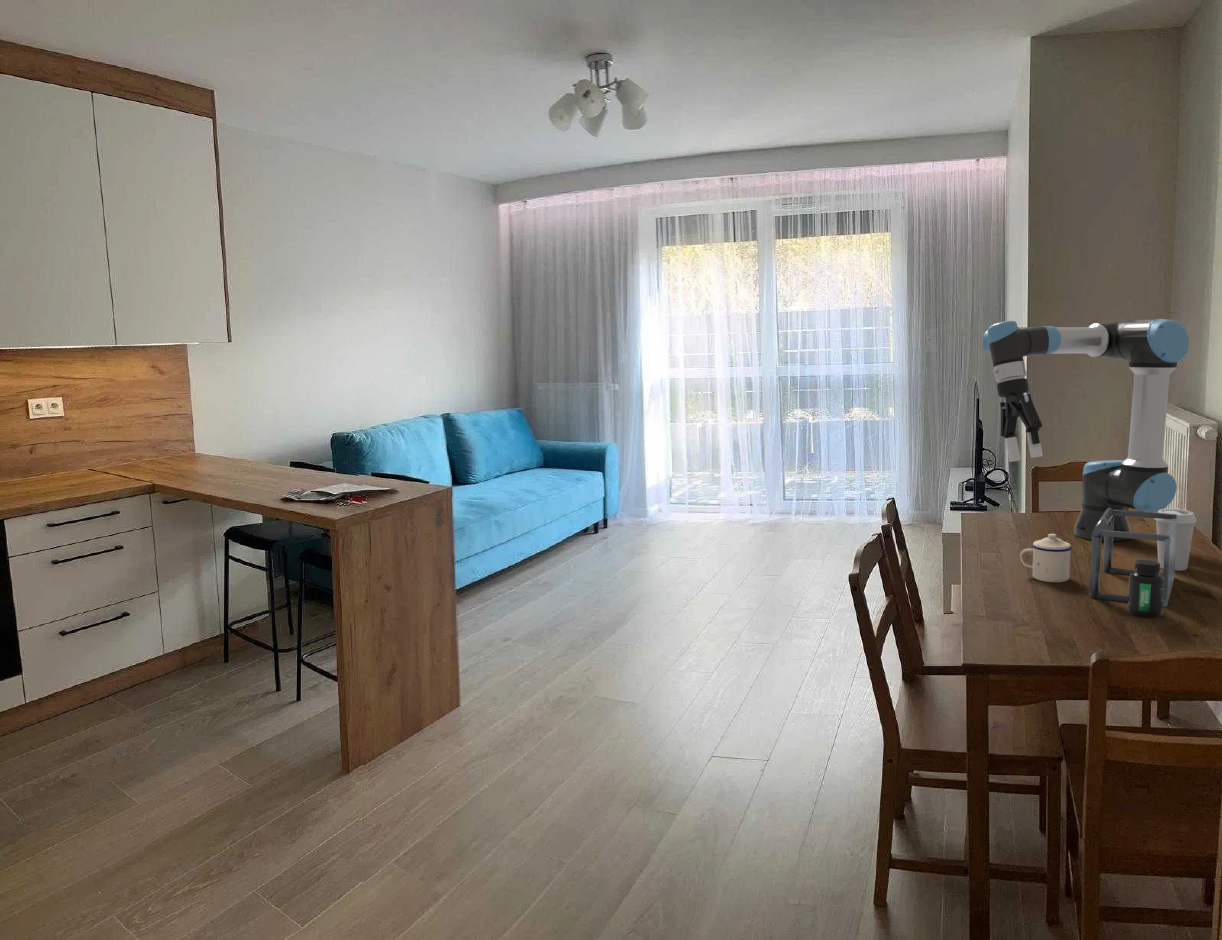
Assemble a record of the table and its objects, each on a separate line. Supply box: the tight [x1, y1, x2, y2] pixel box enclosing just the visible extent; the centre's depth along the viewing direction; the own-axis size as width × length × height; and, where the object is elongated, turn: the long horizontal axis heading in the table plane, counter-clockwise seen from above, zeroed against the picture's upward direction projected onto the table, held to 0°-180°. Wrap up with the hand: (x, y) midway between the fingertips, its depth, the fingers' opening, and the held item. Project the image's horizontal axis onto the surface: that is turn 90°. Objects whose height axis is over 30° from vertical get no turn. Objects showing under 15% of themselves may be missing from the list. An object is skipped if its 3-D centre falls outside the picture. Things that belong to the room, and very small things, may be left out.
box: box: [1088, 508, 1178, 608], centre depth 223 cm, size 27×16×17 cm, turn 145°
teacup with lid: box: [1019, 533, 1072, 583], centre depth 234 cm, size 12×9×12 cm
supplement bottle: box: [1127, 559, 1165, 619], centre depth 204 cm, size 7×7×12 cm
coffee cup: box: [1153, 508, 1198, 572], centre depth 238 cm, size 10×10×15 cm
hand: (1025, 459), depth 238 cm, fingers open, 13 cm apart
